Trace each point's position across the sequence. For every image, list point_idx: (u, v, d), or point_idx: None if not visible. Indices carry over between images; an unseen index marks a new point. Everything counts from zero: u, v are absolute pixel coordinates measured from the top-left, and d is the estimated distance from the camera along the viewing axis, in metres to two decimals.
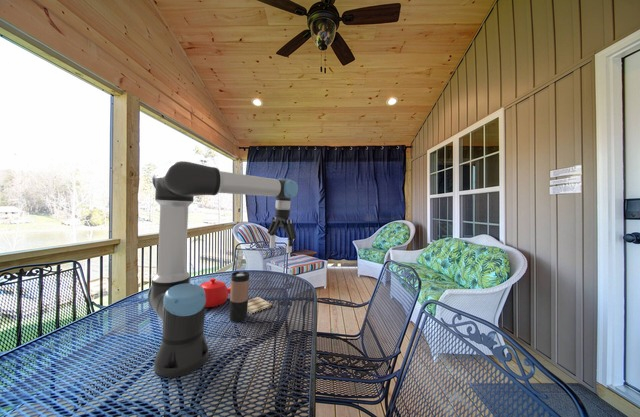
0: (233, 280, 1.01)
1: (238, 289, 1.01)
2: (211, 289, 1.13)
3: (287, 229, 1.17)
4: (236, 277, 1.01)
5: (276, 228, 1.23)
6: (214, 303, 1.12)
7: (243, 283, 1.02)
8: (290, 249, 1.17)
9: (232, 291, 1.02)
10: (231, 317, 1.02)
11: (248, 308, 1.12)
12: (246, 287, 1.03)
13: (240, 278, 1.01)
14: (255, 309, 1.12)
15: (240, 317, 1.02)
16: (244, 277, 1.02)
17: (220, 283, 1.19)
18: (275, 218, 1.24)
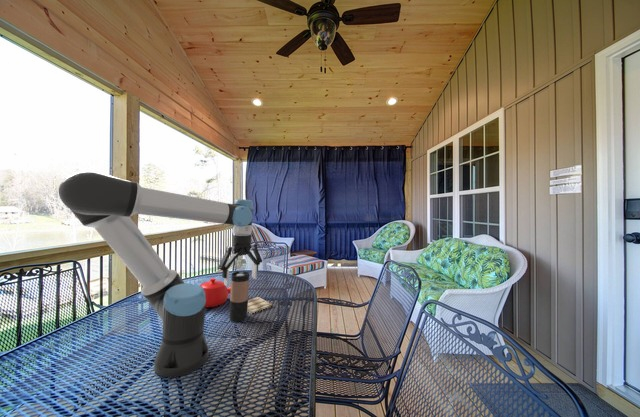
0: (233, 280, 1.01)
1: (238, 289, 1.01)
2: (211, 289, 1.13)
3: (230, 257, 1.01)
4: (236, 277, 1.01)
5: (249, 256, 1.08)
6: (214, 303, 1.12)
7: (243, 283, 1.02)
8: (226, 282, 0.99)
9: (232, 291, 1.02)
10: (231, 317, 1.02)
11: (248, 308, 1.12)
12: (246, 287, 1.03)
13: (240, 278, 1.01)
14: (255, 309, 1.12)
15: (240, 317, 1.02)
16: (244, 277, 1.02)
17: (220, 283, 1.19)
18: (251, 244, 1.08)
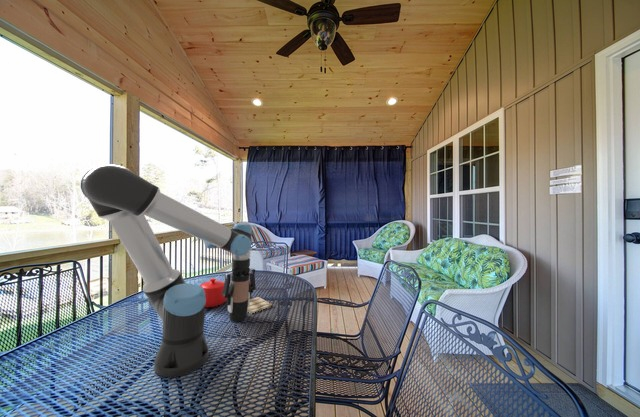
0: (233, 280, 1.01)
1: (238, 289, 1.01)
2: (211, 289, 1.13)
3: (231, 284, 1.02)
4: (236, 277, 1.01)
5: None
6: (214, 303, 1.12)
7: (243, 283, 1.02)
8: (229, 308, 1.01)
9: None
10: (231, 317, 1.02)
11: (248, 308, 1.12)
12: (246, 287, 1.03)
13: (240, 278, 1.01)
14: (255, 309, 1.12)
15: (240, 317, 1.02)
16: (244, 277, 1.02)
17: (220, 283, 1.19)
18: (249, 269, 1.09)
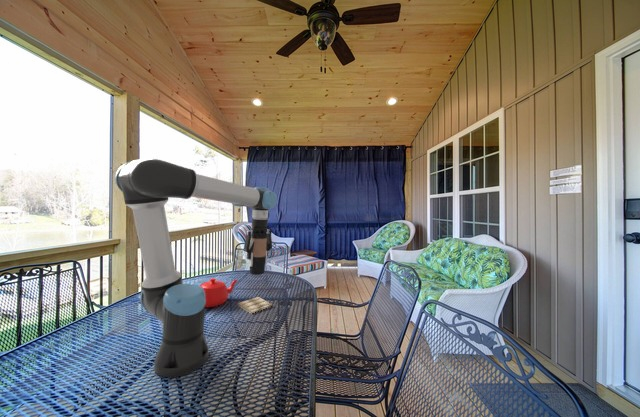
0: (253, 237, 1.13)
1: (258, 245, 1.13)
2: (211, 289, 1.13)
3: (251, 241, 1.14)
4: (256, 234, 1.13)
5: None
6: (214, 303, 1.12)
7: (262, 240, 1.14)
8: (250, 262, 1.13)
9: None
10: (251, 270, 1.14)
11: (248, 308, 1.12)
12: (264, 244, 1.15)
13: (259, 235, 1.13)
14: (255, 309, 1.12)
15: (259, 270, 1.14)
16: (263, 235, 1.14)
17: (220, 283, 1.19)
18: (267, 230, 1.20)
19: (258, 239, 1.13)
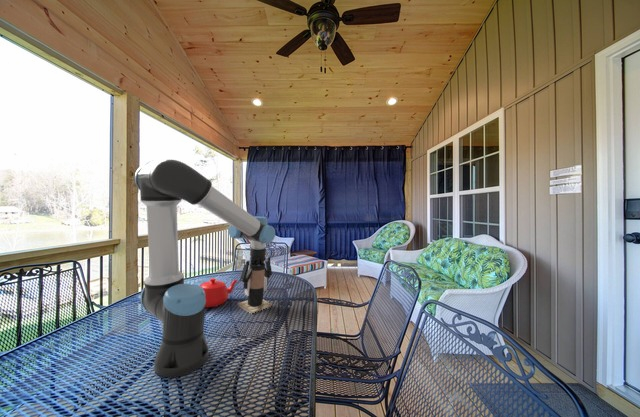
0: None
1: (256, 277, 1.13)
2: (211, 289, 1.13)
3: (249, 270, 1.14)
4: (254, 266, 1.13)
5: None
6: (214, 303, 1.12)
7: (260, 271, 1.14)
8: (246, 292, 1.13)
9: (251, 279, 1.14)
10: (249, 302, 1.14)
11: (248, 308, 1.12)
12: (262, 275, 1.15)
13: (257, 267, 1.13)
14: (255, 309, 1.12)
15: (257, 302, 1.14)
16: (261, 266, 1.14)
17: (220, 283, 1.19)
18: None
19: (256, 271, 1.13)
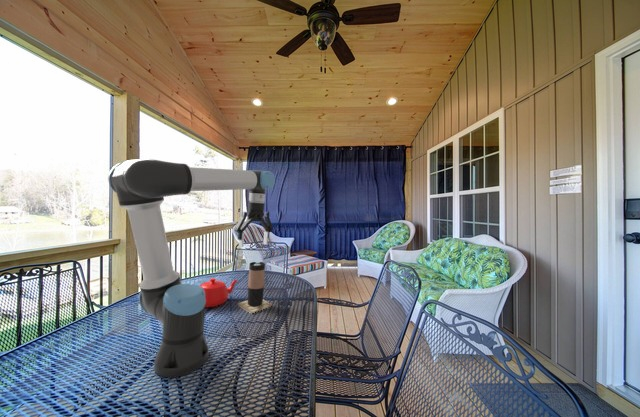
0: (251, 269, 1.14)
1: (256, 277, 1.13)
2: (211, 289, 1.13)
3: (245, 222, 1.12)
4: (254, 266, 1.13)
5: (262, 223, 1.18)
6: (214, 303, 1.12)
7: (260, 271, 1.14)
8: (241, 243, 1.10)
9: (251, 279, 1.14)
10: (249, 302, 1.14)
11: (248, 308, 1.12)
12: (262, 275, 1.15)
13: (257, 267, 1.13)
14: (255, 309, 1.12)
15: (257, 302, 1.14)
16: (261, 266, 1.14)
17: (220, 283, 1.19)
18: (263, 213, 1.19)
19: (256, 271, 1.13)
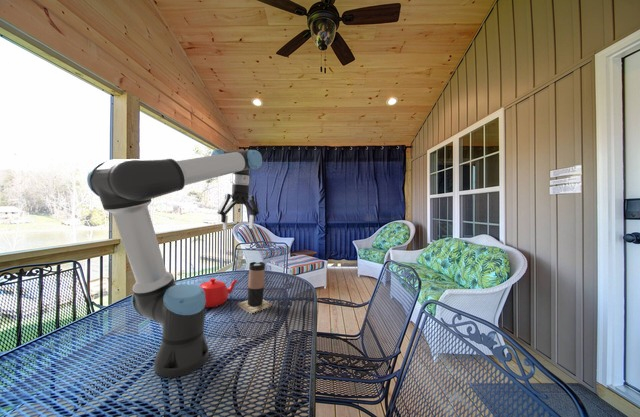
0: (251, 269, 1.14)
1: (256, 277, 1.13)
2: (211, 289, 1.13)
3: (229, 205, 1.08)
4: (254, 266, 1.13)
5: (247, 206, 1.15)
6: (214, 303, 1.12)
7: (260, 271, 1.14)
8: (224, 226, 1.06)
9: (251, 279, 1.14)
10: (249, 302, 1.14)
11: (248, 308, 1.12)
12: (262, 275, 1.15)
13: (257, 267, 1.13)
14: (255, 309, 1.12)
15: (257, 302, 1.14)
16: (261, 266, 1.14)
17: (220, 283, 1.19)
18: (248, 196, 1.16)
19: (256, 271, 1.13)
